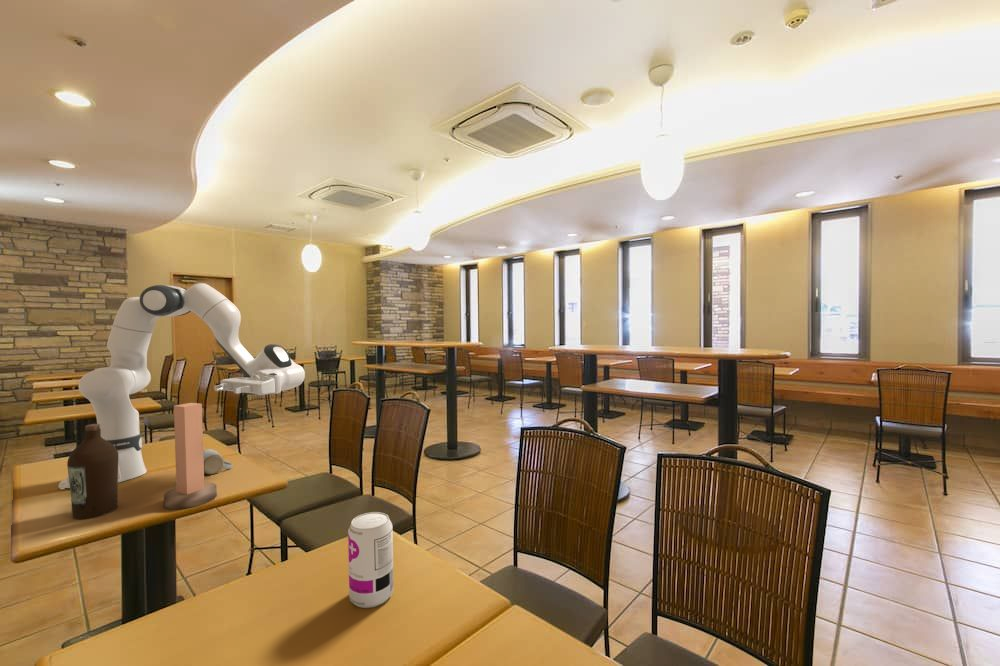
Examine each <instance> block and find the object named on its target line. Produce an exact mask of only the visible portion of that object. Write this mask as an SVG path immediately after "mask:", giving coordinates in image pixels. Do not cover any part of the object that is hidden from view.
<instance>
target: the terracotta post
mask: <svg viewBox="0 0 1000 666" xmlns="http://www.w3.org/2000/svg"><path fill="white" fill-rule="evenodd" d="M173 416H174V417H173V421H174V450H175V451H174V452H175V456H174V457H175V484H176V487H175V488H177V492H178V493H183V494H190V493H193V492H196V491H199V490H202V489H204V482H205V473H204V458H203V451H204V435H203V433H204V432H203V431H204V429H203V404H202V403H199V402H198V403H196V402H188V403H182V404H176V405H173Z"/></svg>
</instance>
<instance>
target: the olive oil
mask: <svg viewBox="0 0 1000 666" xmlns="http://www.w3.org/2000/svg"><path fill="white" fill-rule="evenodd" d="M83 432H84V439H83V440H82V441H81V442H80V444H79V445H77V446H76V447H75V448H74V449H73V450H72V451H71V453H70V454H69V456H68V459H67V463H66V464H67V465H66V466H67V474H68V475H69V484H70V489H69V491H70V501H71V511H72V512H71V513H72V514H71V516H72V518H73V519H75V520H86V519H93V518H96V517H97V518H98V517H100V516H104V515H107V514H109V513H112V512H114V511H115V510H116V509H117V508H118V500H119V499H118V491H119V490H118V486H119V483H118V458H119V455H118V451H117V449H116V447H115V446H114V445H112V444H111V443H109V442H108V441H106V440H105V439H103V438H102V437H101V429H100V424H97V423H91V424H90V423H89V424H86V425H84V431H83ZM68 475H67V476H68Z"/></svg>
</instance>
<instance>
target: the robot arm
mask: <svg viewBox="0 0 1000 666" xmlns="http://www.w3.org/2000/svg"><path fill="white" fill-rule="evenodd" d="M189 313H193V314H195V315H197V316H198V317H199V318H200V319H201V320H202V321H203V322H204V323H205V324H206V325H207V326H208V327H209V328H210V330H211V332H212V333H213V335H214V338H215V342H217V344H218V345H219V347H220V348H221V350H223V351H224V353H225V354H226V355H227V356H228V357H229V358H230V359H231V360H232V361H233V362H234V363H235V365H236V366H237V367H238V368H239V369H240V370H241V372H242V374H243V376H241V377H239V376H238V377H230V378H224V379H222V380H220V384H218V385H214V387H213V388H214V391H215V392H222V391H227V392H233V393H234V394H237V395H238V394H241V393H242V394H243V393H245V394H253V395H258V396H265V395H277V394H281V392H282V391H288V390H291V389H294V388H297V387H299V386H301V384H303V382H304V381H305V378H306V371H305V369H304V367H303V366H301V365H300V364H298V363H296V362H295V361H293V359H292V358H291V357H290V355H289V352H288V351H287V350H286V349H285V347H283V346H281V345H279V344H275V343H274V344H272V343H271V344H267V345H266V346H264V347H262V350H260V351H259V353H258V354H257V355H256V357H253V355H252V354H250V352H249V351H248V350H247V349H246V347H244V345H243V344H242V343H241V341H240V338H239V331H240V326H241V321H242V314H241V312H240V310H239V308H238V307H237V306H236V305H235V304H234V303H233V302H232V301H231V300H229V298H228V297H226V296H225V295H223V293H221V292H220V291H218V290H217V289H215V288H214V287H212V286H211V285H209V284H208V283H203V282H199V283H195V284H193V285H191V286H190V287H188V288H186V287H183V286H182V287H181V286H177V285H171V284H167V285H164V284H154V285H151V286H148V287H146V288H145V289H144V290H143V291H142V292H141V294H140V295H139V296H131V297H128V298H126V299H125V300H123V302H122V303H121V305H120V307H119V308H118V310H117V313H116V315H115V317H114V319H113V323H112V326H111V330H110V333H109V336H108V340H107V341H106V342H107V343H106V348H107V350H108V351H109V352H110V359H111V360H110V365H109V366H105V367H100V368H99V367H98V368H96V369H93V370H91V371H89V372H88V373H85V374H83V375H82V377H81V378H80V379H79V382H78V391H79V393H80V394H81V395H82V397H84V399H87V400H88V401H89V402H90V404H91V406H92V408H93V411H94V413H95V417H96V424H100V429H101V437H102V438H103V439H105V440H106V441H108V442H109V443H111V444H112V445H114V446H115V447H116V449H117V451H118V455H119V458H118V484H119V483H121V482H125V481H128V480H129V481H130V480H132V479H134V478H139V477H140V476H142V475H144V474H146V473H147V472H148V470H147V468H146V466H145V462H144V459H143V453H142V448H143V438H142V433H141V432H140V413H139V411H138V410H137V409H136V408H134V406H133V404H132V402H131V398H130V395H133V394H137V393H138V392H140V391H142V390H144V389H145V388H146V387H148V385H149V384H150V383H151V380H152V376H151V372H150V371H149V369H148V350H149V346H150V343H151V339H152V335H153V332H154V329H155V325H156V322H157V321H158V320H159V319H160V318H161V317H166V318H167V317H168V318H169V317H171V318H172V317H178V316H179V317H180V316H184V315H185V316H186V315H187V314H189ZM57 488H58V489H59V488H70V484H69V475H67V478H65V479H63V480H62V481H60V482H59V483H58V487H57Z"/></svg>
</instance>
